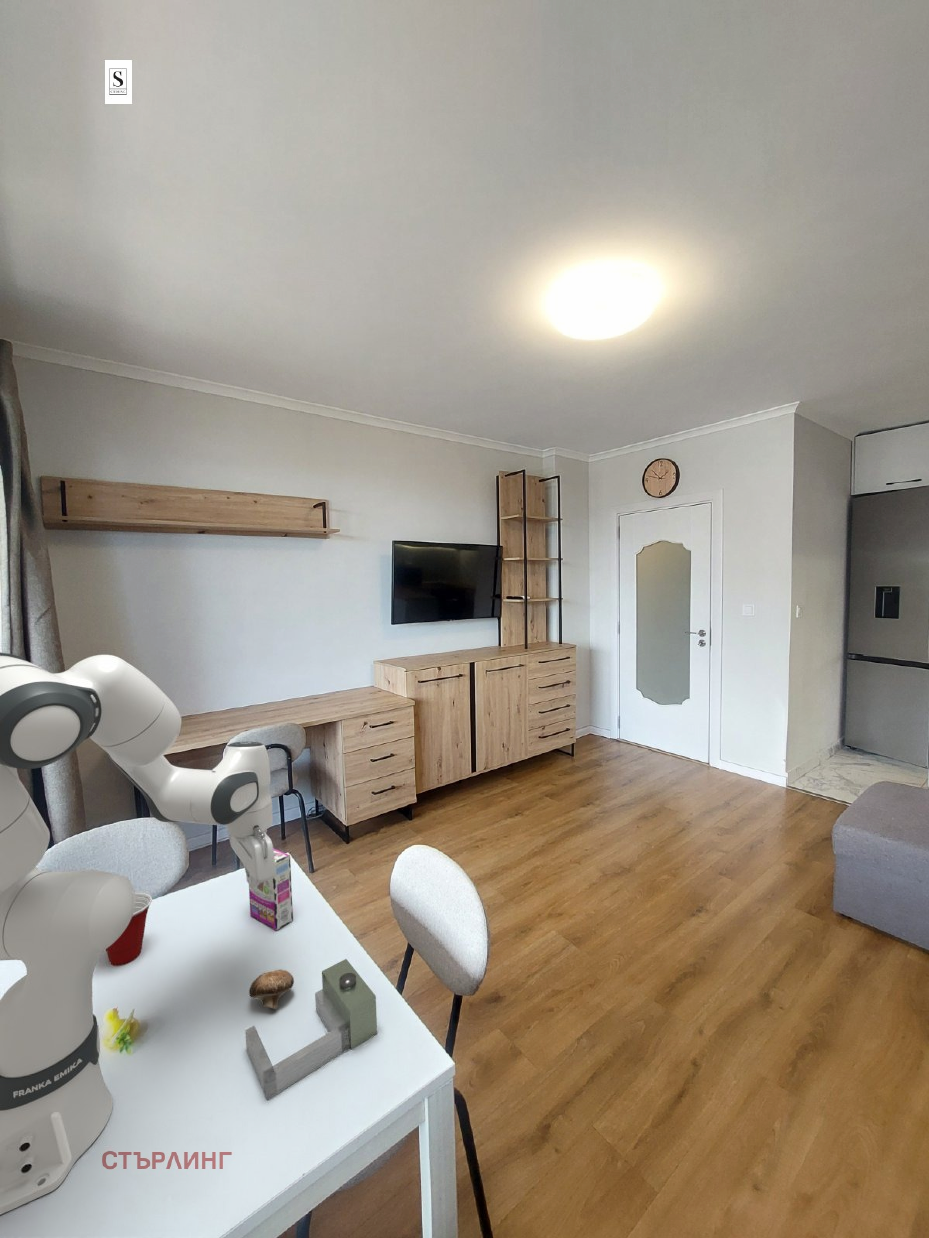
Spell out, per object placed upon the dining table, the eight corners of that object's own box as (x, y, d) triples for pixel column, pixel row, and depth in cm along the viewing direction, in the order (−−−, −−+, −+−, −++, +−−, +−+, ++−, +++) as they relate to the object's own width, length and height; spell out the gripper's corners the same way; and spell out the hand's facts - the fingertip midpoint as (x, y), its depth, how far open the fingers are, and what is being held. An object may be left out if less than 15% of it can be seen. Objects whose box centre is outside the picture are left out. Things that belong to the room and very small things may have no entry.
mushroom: (275, 1009, 92) (273, 968, 95) (239, 1019, 93) (239, 979, 97) (303, 1000, 98) (300, 962, 102) (269, 1010, 100) (268, 973, 103)
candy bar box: (294, 920, 122) (291, 854, 121) (276, 932, 118) (273, 864, 117) (267, 905, 128) (263, 842, 128) (249, 915, 124) (245, 851, 124)
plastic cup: (163, 952, 112) (159, 900, 112) (106, 982, 104) (102, 926, 103) (145, 933, 119) (141, 883, 119) (90, 959, 111) (86, 906, 110)
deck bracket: (268, 1102, 78) (265, 1054, 78) (246, 1049, 87) (244, 1006, 87) (377, 1033, 90) (375, 991, 89) (347, 992, 99) (346, 954, 99)
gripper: (282, 831, 98) (285, 900, 98) (251, 799, 114) (254, 859, 114) (248, 841, 94) (251, 913, 94) (221, 807, 110) (224, 869, 110)
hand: (253, 883), depth 104 cm, fingers closed
